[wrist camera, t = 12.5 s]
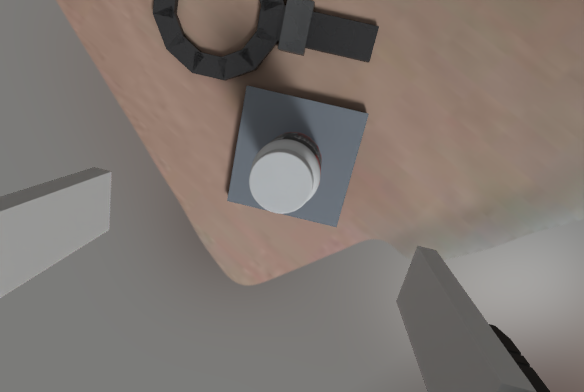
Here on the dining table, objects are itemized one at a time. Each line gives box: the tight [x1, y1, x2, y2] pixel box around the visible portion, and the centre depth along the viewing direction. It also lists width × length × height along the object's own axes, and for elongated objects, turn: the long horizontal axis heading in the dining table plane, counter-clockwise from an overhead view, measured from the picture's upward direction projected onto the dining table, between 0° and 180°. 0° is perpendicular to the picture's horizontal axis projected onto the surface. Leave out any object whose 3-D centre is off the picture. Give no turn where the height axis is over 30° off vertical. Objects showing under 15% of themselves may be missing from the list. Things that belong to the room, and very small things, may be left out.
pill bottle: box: [249, 132, 322, 214], centre depth 28 cm, size 6×6×10 cm
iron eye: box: [153, 0, 379, 80], centre depth 30 cm, size 12×21×1 cm, turn 78°
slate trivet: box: [227, 86, 368, 227], centre depth 33 cm, size 12×12×1 cm
